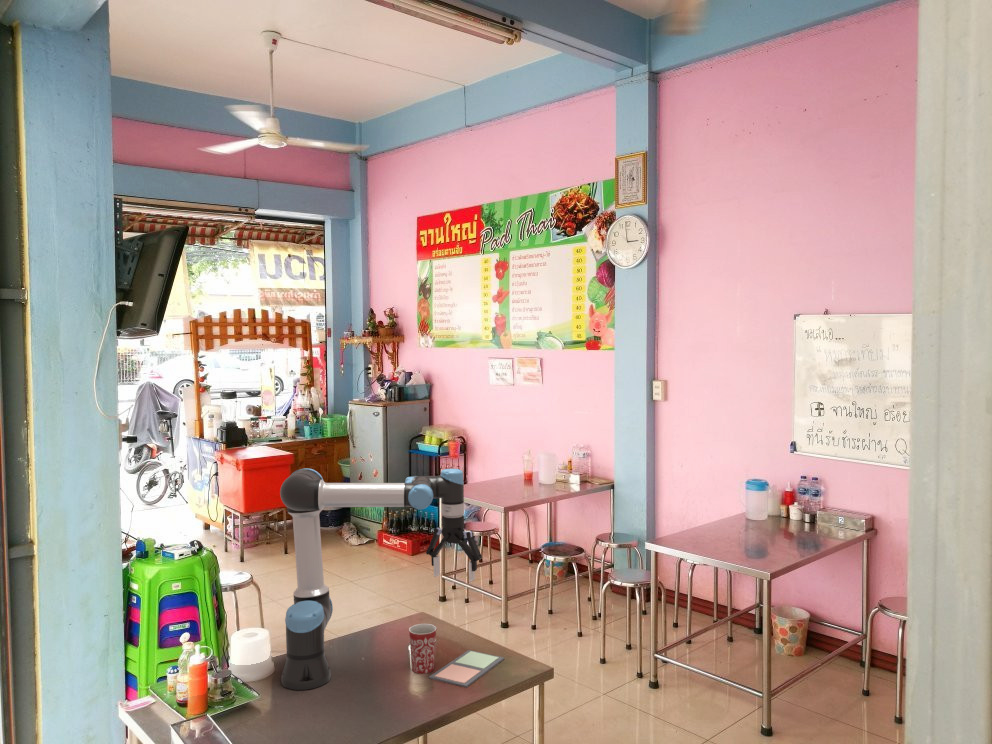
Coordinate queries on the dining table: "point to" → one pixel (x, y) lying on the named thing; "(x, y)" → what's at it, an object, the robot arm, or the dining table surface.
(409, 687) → the dining table surface
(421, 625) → the mug
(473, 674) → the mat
